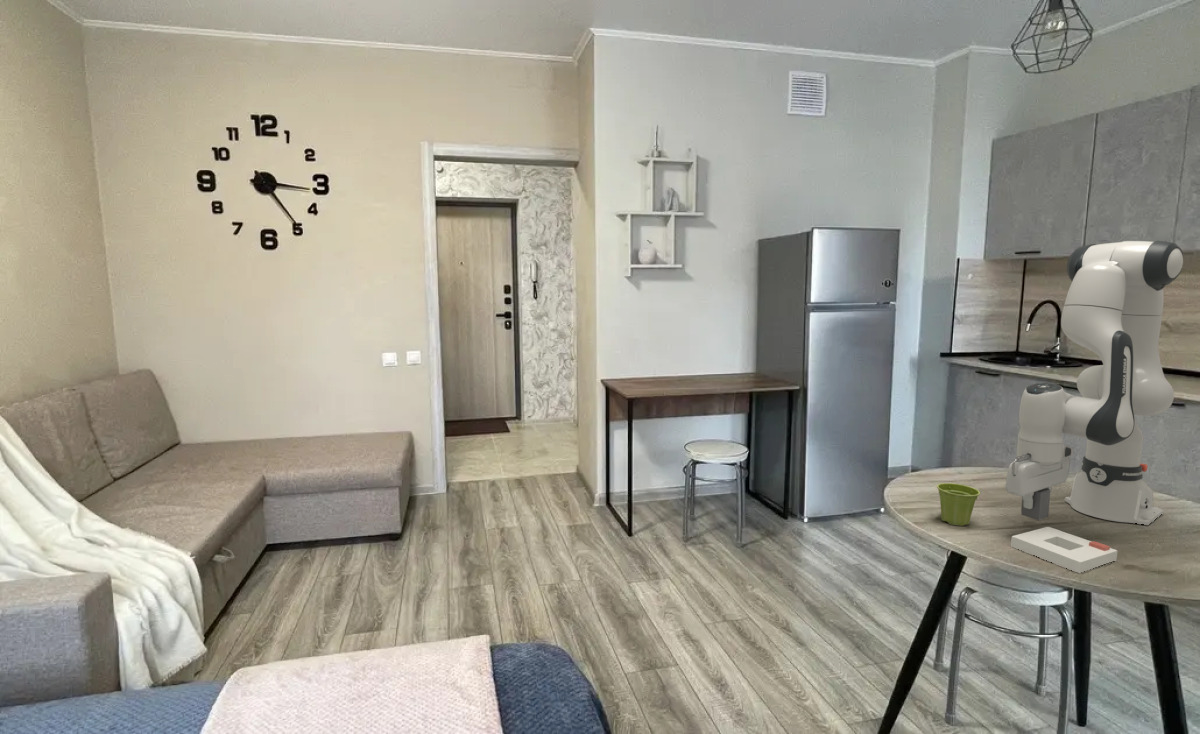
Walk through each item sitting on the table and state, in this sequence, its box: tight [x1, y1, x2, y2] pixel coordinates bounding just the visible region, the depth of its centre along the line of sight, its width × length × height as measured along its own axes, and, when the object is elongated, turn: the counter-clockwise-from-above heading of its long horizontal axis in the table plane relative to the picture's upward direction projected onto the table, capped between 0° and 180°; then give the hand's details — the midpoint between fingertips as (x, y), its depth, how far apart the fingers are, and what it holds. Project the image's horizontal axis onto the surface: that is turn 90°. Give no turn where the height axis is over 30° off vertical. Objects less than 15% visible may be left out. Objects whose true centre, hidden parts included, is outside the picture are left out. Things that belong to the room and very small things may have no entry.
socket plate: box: [1010, 526, 1118, 574], centre depth 135 cm, size 14×14×3 cm
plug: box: [1020, 488, 1051, 521], centre depth 146 cm, size 4×4×7 cm
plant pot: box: [936, 482, 981, 527], centre depth 152 cm, size 9×9×9 cm
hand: (1035, 505), depth 146 cm, fingers closed on plug, 4 cm apart
